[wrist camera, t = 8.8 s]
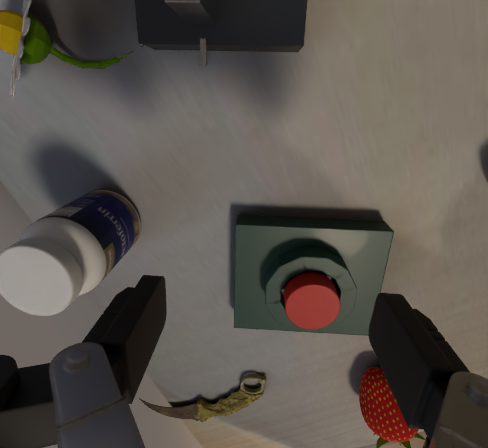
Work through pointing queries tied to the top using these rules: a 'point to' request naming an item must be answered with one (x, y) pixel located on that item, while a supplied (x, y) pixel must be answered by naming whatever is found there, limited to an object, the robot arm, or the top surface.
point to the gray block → (195, 11)
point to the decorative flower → (33, 43)
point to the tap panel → (225, 27)
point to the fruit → (383, 410)
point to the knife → (222, 407)
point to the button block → (308, 268)
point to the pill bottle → (68, 252)
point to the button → (311, 300)
